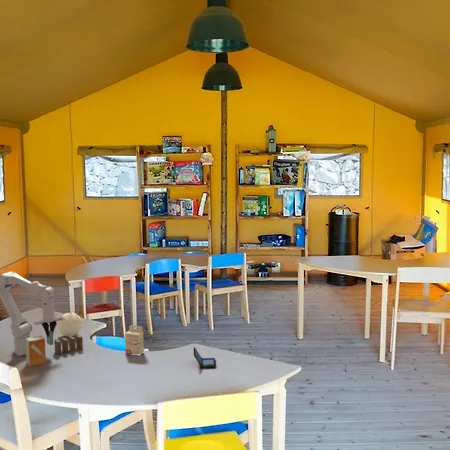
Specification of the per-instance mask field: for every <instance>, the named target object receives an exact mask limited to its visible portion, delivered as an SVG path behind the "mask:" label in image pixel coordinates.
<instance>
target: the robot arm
mask: <svg viewBox="0 0 450 450" xmlns="http://www.w3.org/2000/svg"><path fill="white" fill-rule="evenodd" d="M14 284H17V285H19V286H20V287H21V286H22V287H24V288H27V289H28V291H29V293H32V294H33V295H34V294H35V295H37V296H39V298H40V299H41V302H42V303H41V304H42V306H41V307H42V318H41V319H37V320H34V326H38V325H41V326H42V327H43V330H44V332H45V335H46V338H47V337H49V330H51V331H53V334H54V332H55V329H56V326H57V325H58V321H60V320H61V321H62V320H63V317H62V316H63V315H59V316H58V315H57V316H55V301H54V297H55V295H56V289H55V288H54V287H52V286H47V285H43V284H41V283H40V282H39V281H32V282H31V281H30V280H28V279H26V278H25V277H22V276H21V275H19V274H18V273H17V272H15V271H12V270H10V271H9V270H8V271H7V272H4V273H2V274H0V300H1V302H2V304H3V306H4V307H5V310H6V313H7V314H8V317H9V319H10V320H11V325H10V328H11V335H12V336H13V337H14V338H13V343H14V345H13V346H14V350H12V352H13V353H14V354H15V355H16V356H17V357H20V356H24V355H26V338H31V332H32V330H33V325H32V323H30V322H29V321H28V319H27V318H25V317H23V316H22V313H21V312H20V310H19V307H18V305H17V303H16V301H15V300H14V297H13V295H12V293H11V289H12V286H13V285H14Z"/></svg>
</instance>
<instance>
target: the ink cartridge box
mask: <svg viewBox="0 0 450 450" xmlns="http://www.w3.org/2000/svg"><path fill="white" fill-rule="evenodd" d="M128 328H129V330H128V331H126V332H125V334H124V344H125V346H124V347H125V355H127V354H141V353H143V352H144V351H145V350H144V347H145V346H144V344H145V343H144V329H143V328H144V327H143V326H142V325H141V326H140V325H131V324H130V325H129V326H128ZM144 353H145V352H144ZM144 353H143V354H144Z"/></svg>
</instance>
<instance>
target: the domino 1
mask: <svg viewBox="0 0 450 450" xmlns="http://www.w3.org/2000/svg"><path fill="white" fill-rule="evenodd" d="M46 344H48V345H50V346H53V345H54V333H53V331H51V330H50V329H49V337H47V336H46Z"/></svg>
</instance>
